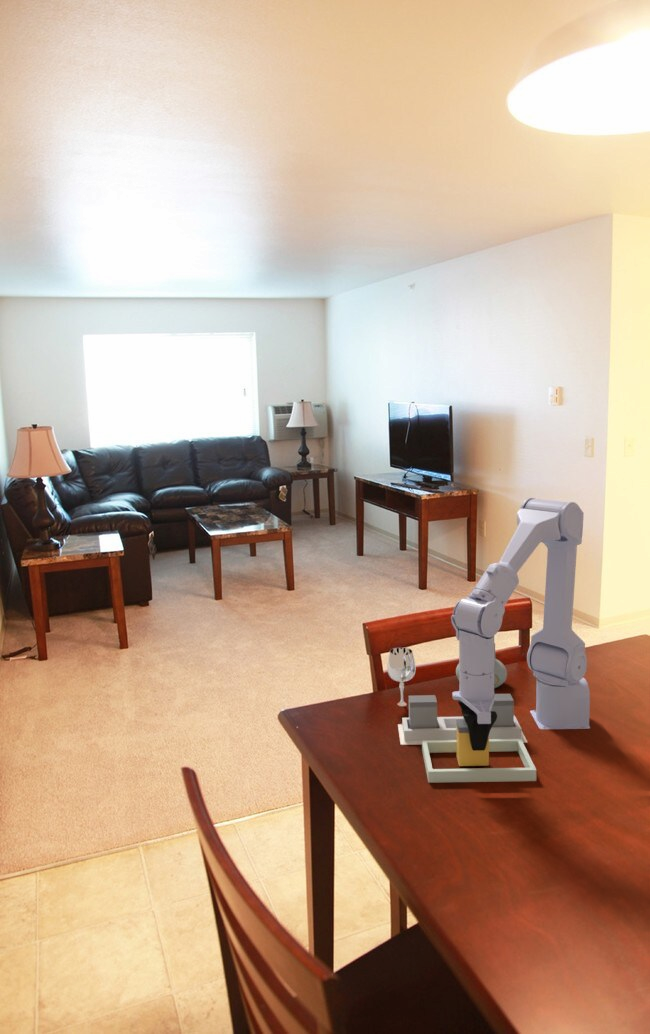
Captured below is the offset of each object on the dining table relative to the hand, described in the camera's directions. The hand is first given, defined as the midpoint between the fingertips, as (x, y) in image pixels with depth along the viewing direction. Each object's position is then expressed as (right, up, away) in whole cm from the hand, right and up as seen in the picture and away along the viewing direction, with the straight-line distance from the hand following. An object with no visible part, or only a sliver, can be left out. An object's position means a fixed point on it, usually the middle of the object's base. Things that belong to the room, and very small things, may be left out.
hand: (476, 744), depth 121 cm
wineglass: (-10, -1, +25) cm, 27 cm away
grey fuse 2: (+7, -2, +12) cm, 14 cm away
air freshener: (+8, +2, +35) cm, 36 cm away
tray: (0, -4, +1) cm, 4 cm away
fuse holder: (0, -2, +12) cm, 12 cm away
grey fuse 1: (-7, -2, +12) cm, 15 cm away
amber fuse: (-1, -3, +1) cm, 3 cm away
